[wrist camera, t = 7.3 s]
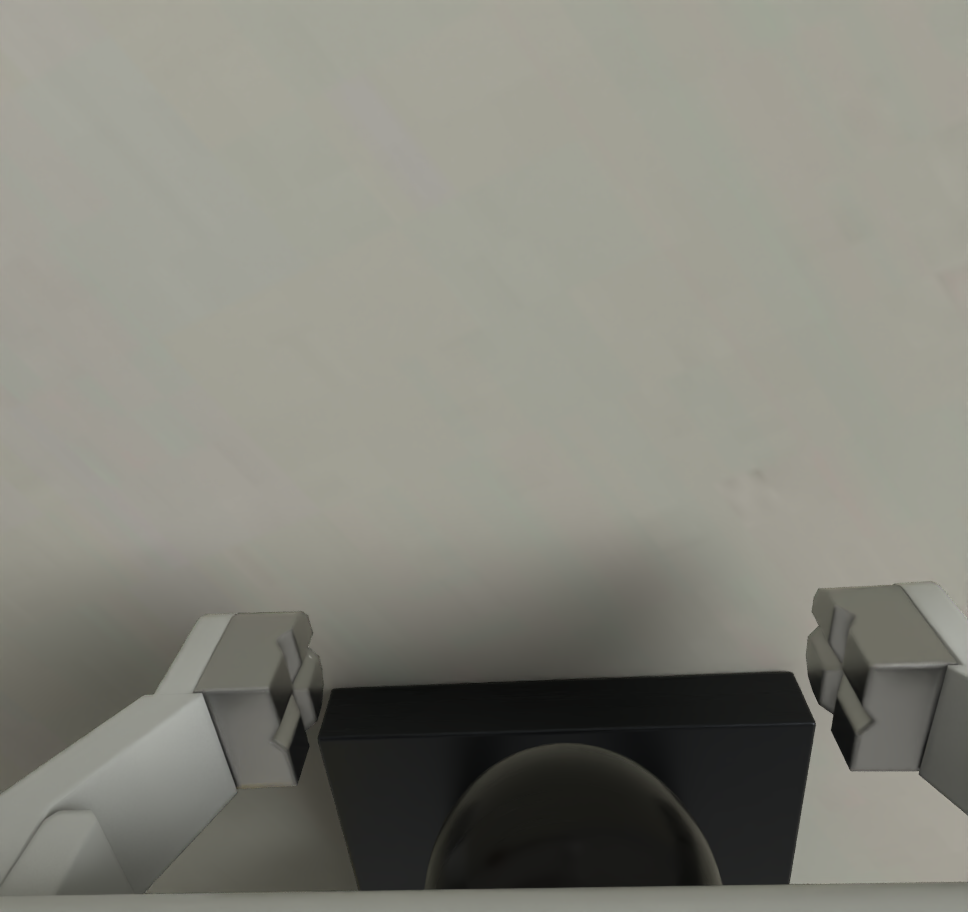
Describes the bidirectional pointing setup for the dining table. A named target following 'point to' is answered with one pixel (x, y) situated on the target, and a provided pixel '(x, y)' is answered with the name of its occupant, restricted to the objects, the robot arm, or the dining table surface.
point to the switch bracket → (571, 719)
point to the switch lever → (569, 826)
